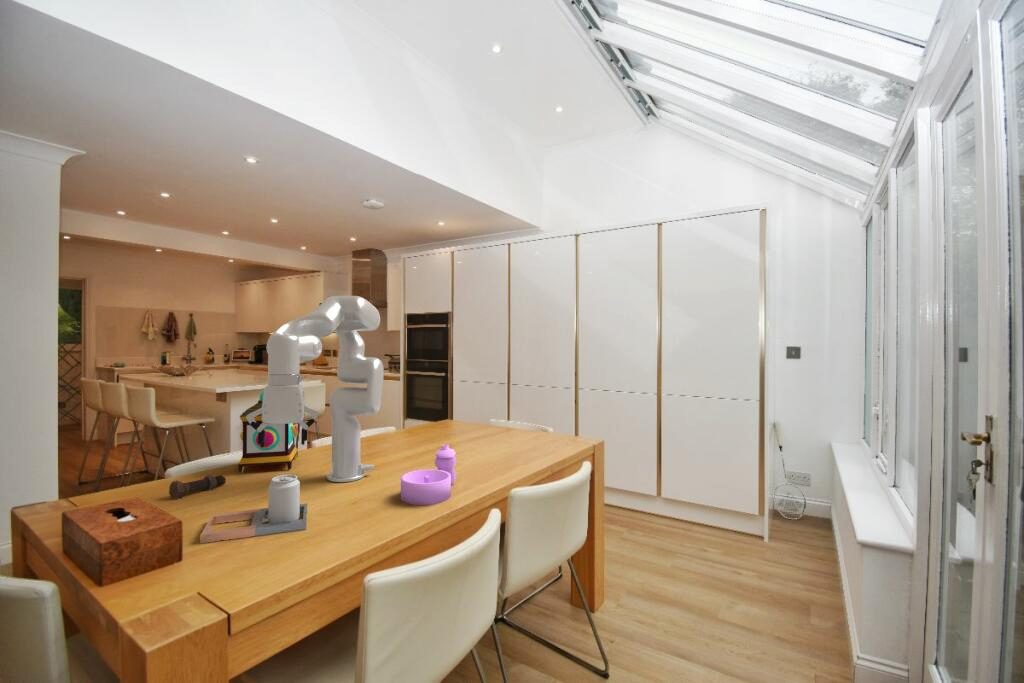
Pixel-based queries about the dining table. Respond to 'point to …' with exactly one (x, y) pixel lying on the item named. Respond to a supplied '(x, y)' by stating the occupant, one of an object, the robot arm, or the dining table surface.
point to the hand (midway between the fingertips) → (283, 445)
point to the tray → (253, 530)
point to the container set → (430, 480)
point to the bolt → (195, 485)
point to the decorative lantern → (267, 442)
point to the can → (283, 499)
